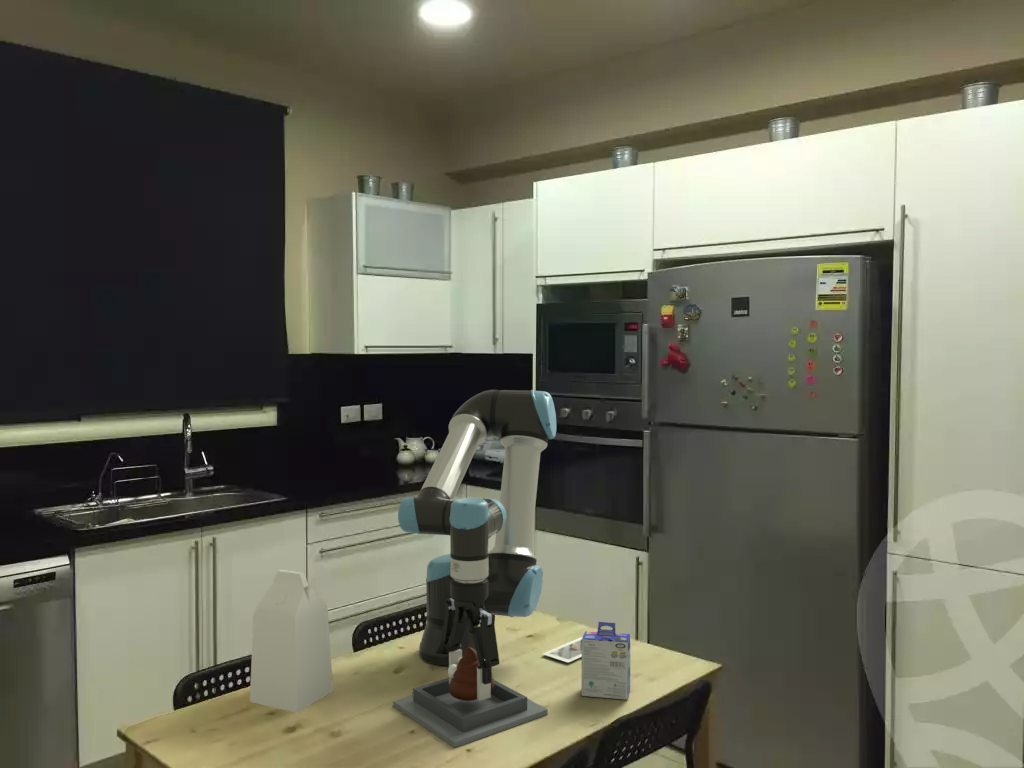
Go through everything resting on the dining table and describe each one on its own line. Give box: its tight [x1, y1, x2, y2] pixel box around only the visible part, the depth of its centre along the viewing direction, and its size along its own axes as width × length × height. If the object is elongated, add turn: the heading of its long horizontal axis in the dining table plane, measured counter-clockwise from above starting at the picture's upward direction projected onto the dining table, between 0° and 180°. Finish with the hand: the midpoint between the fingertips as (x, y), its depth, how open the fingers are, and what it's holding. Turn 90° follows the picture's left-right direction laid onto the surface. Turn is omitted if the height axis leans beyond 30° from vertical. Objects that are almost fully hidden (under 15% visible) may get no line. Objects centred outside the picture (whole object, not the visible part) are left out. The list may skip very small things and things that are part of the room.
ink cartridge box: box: [580, 621, 631, 700], centre depth 173 cm, size 10×6×14 cm, turn 78°
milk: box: [249, 568, 334, 714], centre depth 171 cm, size 12×12×26 cm
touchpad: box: [542, 636, 583, 663], centre depth 196 cm, size 8×15×2 cm, turn 138°
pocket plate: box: [392, 677, 549, 748], centre depth 165 cm, size 22×22×4 cm
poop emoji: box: [447, 647, 495, 701], centre depth 164 cm, size 10×8×9 cm
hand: (469, 690), depth 165 cm, fingers closed on poop emoji, 9 cm apart
